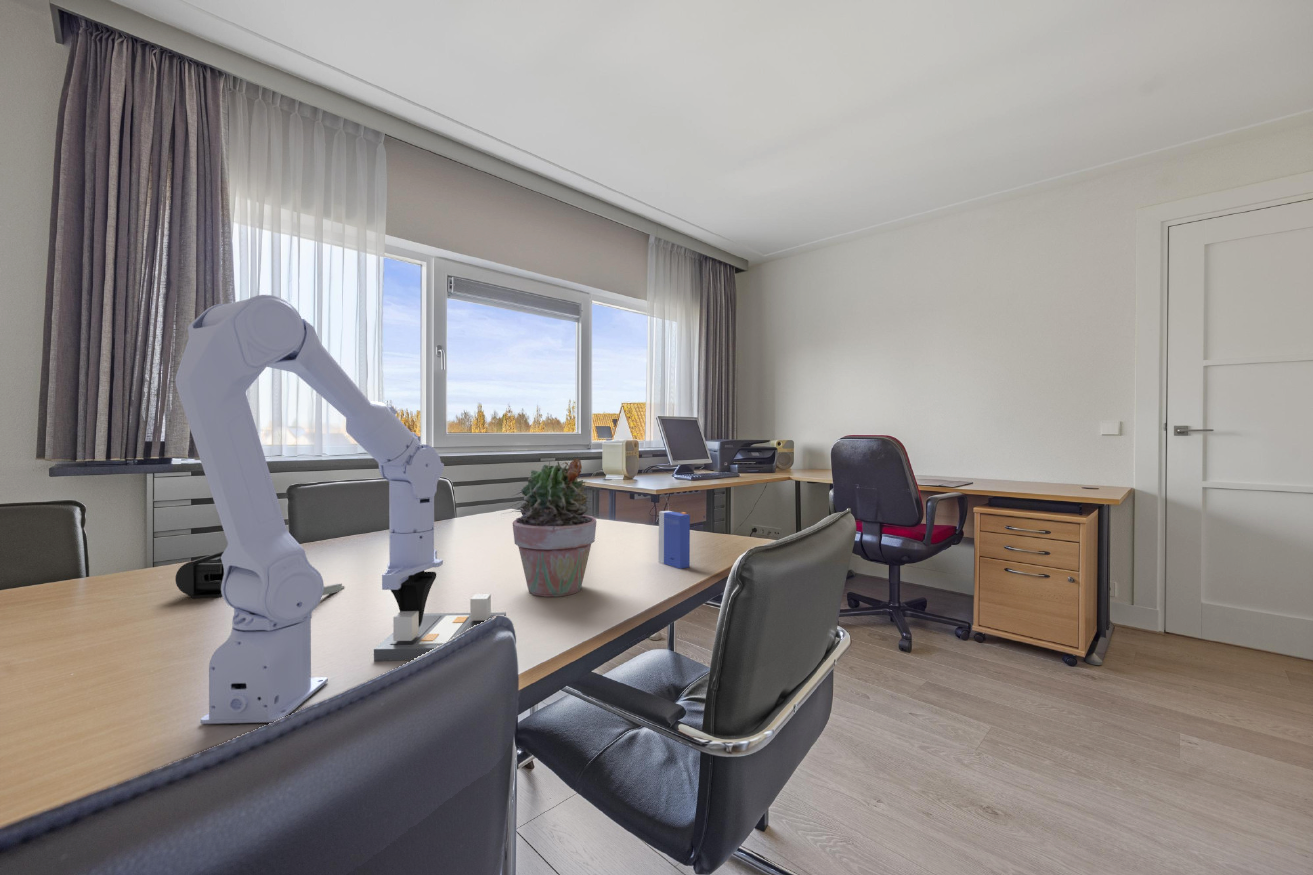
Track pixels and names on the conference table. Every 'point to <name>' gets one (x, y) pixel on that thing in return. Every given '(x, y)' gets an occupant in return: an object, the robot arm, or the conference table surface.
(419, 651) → the dip bank
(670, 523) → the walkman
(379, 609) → the conference table surface
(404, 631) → the switch
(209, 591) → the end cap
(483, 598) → the switch
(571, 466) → the potted plant
